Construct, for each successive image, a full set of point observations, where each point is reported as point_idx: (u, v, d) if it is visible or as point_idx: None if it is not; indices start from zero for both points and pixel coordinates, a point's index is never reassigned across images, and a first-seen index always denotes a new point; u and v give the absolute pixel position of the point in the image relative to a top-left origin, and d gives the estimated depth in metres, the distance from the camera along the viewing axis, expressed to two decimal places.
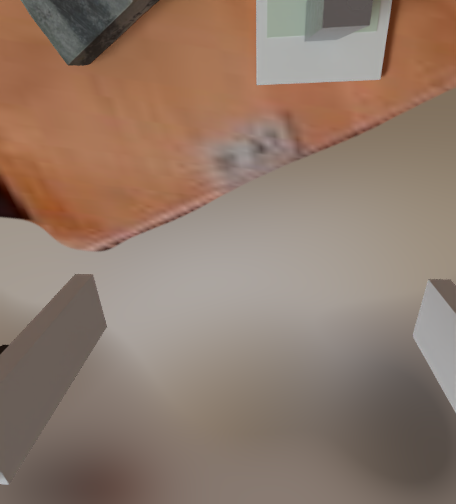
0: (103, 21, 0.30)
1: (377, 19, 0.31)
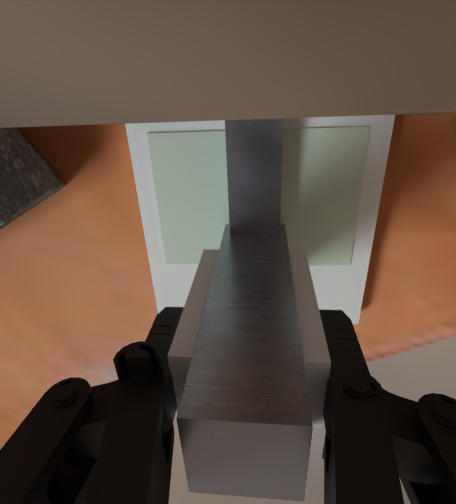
0: None
1: (350, 250, 0.18)
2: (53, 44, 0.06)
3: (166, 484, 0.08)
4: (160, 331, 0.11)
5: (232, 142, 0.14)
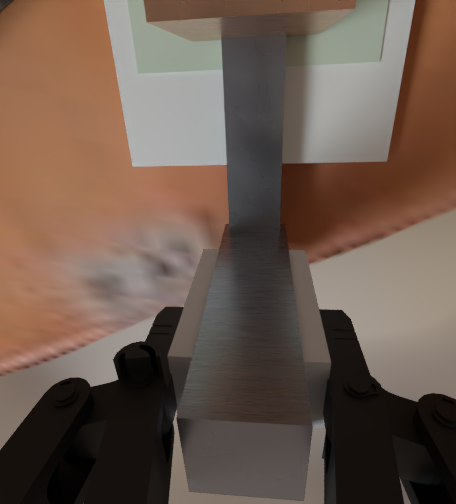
0: None
1: (381, 35, 0.13)
2: None
3: (166, 484, 0.08)
4: (160, 331, 0.11)
5: (232, 142, 0.14)
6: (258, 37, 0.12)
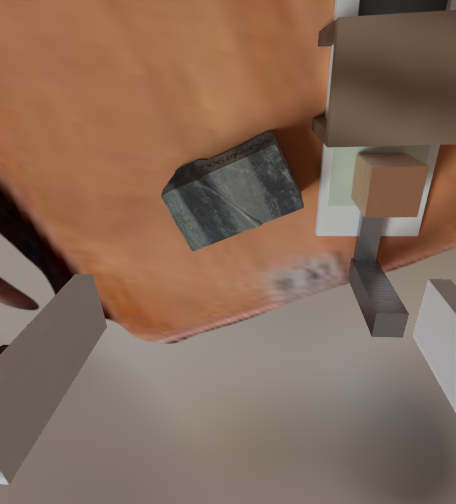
0: (229, 232, 0.39)
1: None
2: (378, 128, 0.27)
3: None
4: None
5: (362, 231, 0.40)
6: None
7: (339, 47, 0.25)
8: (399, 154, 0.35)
